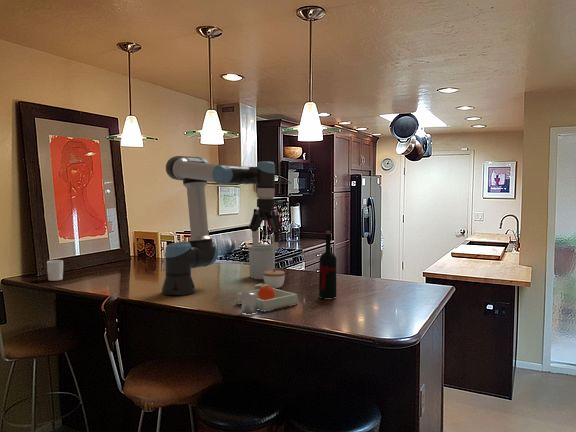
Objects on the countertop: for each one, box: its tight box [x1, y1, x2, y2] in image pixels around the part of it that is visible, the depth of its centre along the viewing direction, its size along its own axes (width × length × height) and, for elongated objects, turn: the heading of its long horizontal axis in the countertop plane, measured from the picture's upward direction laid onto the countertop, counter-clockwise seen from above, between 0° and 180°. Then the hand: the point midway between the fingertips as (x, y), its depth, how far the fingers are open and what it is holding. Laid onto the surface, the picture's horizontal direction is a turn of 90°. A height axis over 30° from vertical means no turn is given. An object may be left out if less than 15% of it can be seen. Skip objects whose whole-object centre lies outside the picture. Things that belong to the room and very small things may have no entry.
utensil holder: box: [247, 243, 276, 280], centre depth 251 cm, size 15×15×18 cm
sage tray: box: [237, 288, 298, 310], centre depth 192 cm, size 18×18×4 cm
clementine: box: [258, 286, 275, 300], centre depth 192 cm, size 8×7×7 cm
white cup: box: [46, 259, 64, 282], centre depth 242 cm, size 8×8×10 cm
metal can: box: [241, 291, 258, 314], centre depth 178 cm, size 6×6×8 cm
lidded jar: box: [263, 268, 286, 289], centre depth 224 cm, size 11×11×9 cm
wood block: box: [253, 283, 269, 290], centre depth 208 cm, size 5×5×5 cm
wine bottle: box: [318, 230, 337, 298], centre depth 202 cm, size 8×10×30 cm
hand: (265, 248), depth 194 cm, fingers open, 13 cm apart
